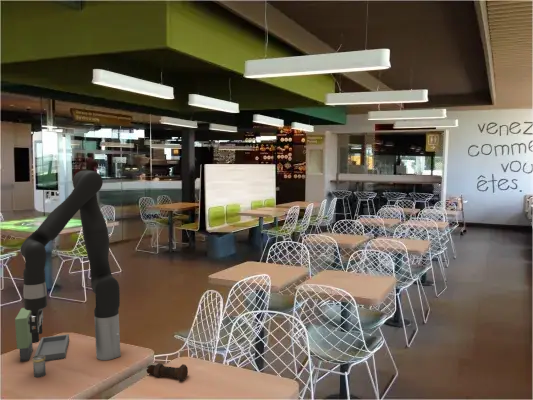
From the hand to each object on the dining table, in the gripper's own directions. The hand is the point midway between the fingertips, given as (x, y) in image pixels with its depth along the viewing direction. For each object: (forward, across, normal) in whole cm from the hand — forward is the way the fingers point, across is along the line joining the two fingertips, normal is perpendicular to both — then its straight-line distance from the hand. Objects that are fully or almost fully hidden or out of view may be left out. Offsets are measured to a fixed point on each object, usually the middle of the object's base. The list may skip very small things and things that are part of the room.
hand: (37, 337), depth 169 cm
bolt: (+14, -17, -44) cm, 50 cm away
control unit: (+14, +20, +7) cm, 26 cm away
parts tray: (+14, +22, -2) cm, 26 cm away
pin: (+14, 0, 0) cm, 14 cm away
